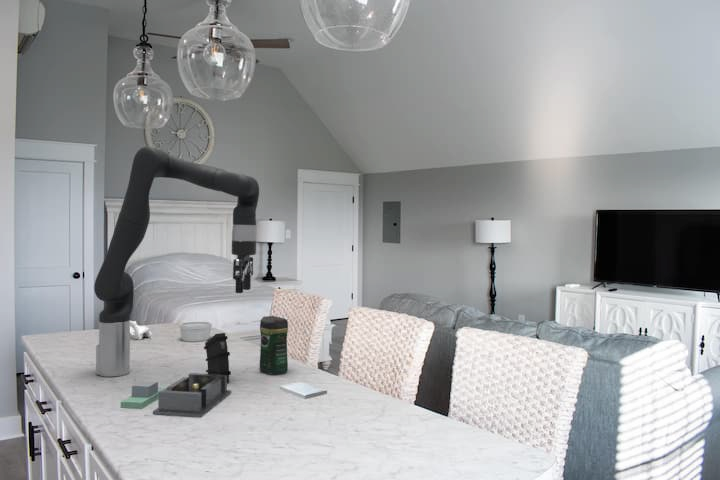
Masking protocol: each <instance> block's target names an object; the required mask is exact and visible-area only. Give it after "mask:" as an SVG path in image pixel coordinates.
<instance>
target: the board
mask: <svg viewBox="0 0 720 480" xmlns="http://www.w3.org/2000/svg"><path fill="white" fill-rule="evenodd" d="M161 390H165V391H167V387H159V381H151V380H140V381H138V382H136V383H134V384H132V385H131V396H129V397H127V398H125V399H123V400H122V401H120V408H122V409H140V410H142V409H143V410H144V408H146V407H148V406H149V405H151V404H152V403H153V402H156V401H158V400H159V391H161Z"/></svg>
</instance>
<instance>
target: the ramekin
mask: <svg viewBox="0 0 720 480" xmlns="http://www.w3.org/2000/svg"><path fill="white" fill-rule="evenodd" d="M212 326H213V324H212V322H210V321H200V320H199V321H197V320H196V321H185V322H181V323H179V330H180V337H181V340H182V341H184V342H188V343H189V342H190V343H195V342H196V343H197V342H205V341H208V340H209V339H210V338H211V337H210V336H211V330H212Z"/></svg>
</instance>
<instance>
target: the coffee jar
mask: <svg viewBox="0 0 720 480" xmlns="http://www.w3.org/2000/svg"><path fill="white" fill-rule="evenodd" d="M259 331H260V353H259V354H260V355H259V371H260V372H262V373H265V374H267V375H283V374H284V373H286V372H288V366H289V365H288V362H289V359H288V331H289V321H288V320H287V319H286V318H285V317H280V316H274V315H268V316H263V317H261V319H260V323H259Z"/></svg>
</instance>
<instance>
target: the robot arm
mask: <svg viewBox="0 0 720 480" xmlns="http://www.w3.org/2000/svg"><path fill="white" fill-rule="evenodd" d="M131 164H132V165H131V169H130V175H129V180H128V185H127V188H126V192H125V195H124V198H123V202H122V205H121V208H120V211H119V214H118V217H117V221H116V223H115V227H114V231H113V233H112V234H113V235H112V236H111V239H110V242H109V246H108V248H107V251H106V255H105V257H104V259H103V262H102V265H101V266H100V269H99V271H98V274H97V276H96V278H95V280H94V286H93V291H94V294H95V296H96V298H97V299H98V300H100V301H103V302H106V305H105V307H104V308H103V309H102V310H101V311H100V312H99V315H98V344H97V345H96V346H95V358H96V359H95V372H96V373H95V375H96V376H97V375H98V376H100V377H108V378H111V377H120V376H121V377H122V376H125V375H128V374H129V373H130V372H131V370H130V369H131V353H130V352H131V338H130V321H131V315H132V312H133V306H134V292H135V291H134V281H133V278H132V276H131V275H130V274H129V273H128V272H127V271H125V269H126V267H127V264H128V262H129V260H130V259H131V257H132V256H133V254H134V253H135V252H136V251H137V249H138V248H139V246H140V245H141V243H142V242H143V240H144V238H145V237H146V232H147V230H148V226H149V223H150V219H151V209H150V208H151V207H150V192H151V188H152V185H153V183H154V179H155V178H164V179H165V178H167V179H168V178H169V179H177V180H181V181H185V182H188V183H191V184H193V185H195V186H198V187H201V188H205V189H208V190H212V191H216V192H222V193H225V194H227V195H230V196H233V197H236V198H237V203H236V206H234V208H233V211H232V229H231V252H230V253H231V255H233V256H237V258H234V259H233V264H232V265H233V268H232V279H233V280H234V281H235V294H243V293H244V290H245V291H248V290H251V281H252V280H251V279H252V277H253V275H254V257H252V256H254V255H256V254H257V228H256V227H257V226H256V224H257V223H256V221H257V219H256V218H257V217H256V214H257V213H256V211H257V207H258V202H259V196H260V186H259V183H258V181H257V179H256V178H254V177H252V176H249V175H245V174H240V173H236V172H233V171H227V170H224V169H222V168H220V167H215V166H211V165H207V164H202V163H196V162H191V161H187V160H183V159H181V158H179V157H177V156H174V155H172V154H170V153H167V152H166V151H164V150H163V149H160V148H156V147H152V146H144V147H143V146H142V147H141V148H139V149H138V150H137V151H136V153H135V154H134V157H133V159H132V163H131Z"/></svg>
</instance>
